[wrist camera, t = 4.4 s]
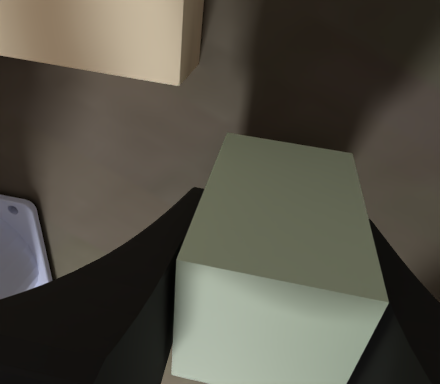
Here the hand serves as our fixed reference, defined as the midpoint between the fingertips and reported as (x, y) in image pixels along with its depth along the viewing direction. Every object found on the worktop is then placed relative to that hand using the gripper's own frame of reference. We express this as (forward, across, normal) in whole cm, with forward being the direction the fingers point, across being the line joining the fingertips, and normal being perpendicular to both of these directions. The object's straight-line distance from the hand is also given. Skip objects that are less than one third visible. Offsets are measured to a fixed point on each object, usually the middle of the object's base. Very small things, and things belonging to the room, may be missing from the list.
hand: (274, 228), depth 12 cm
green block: (+2, 0, 0) cm, 2 cm away
